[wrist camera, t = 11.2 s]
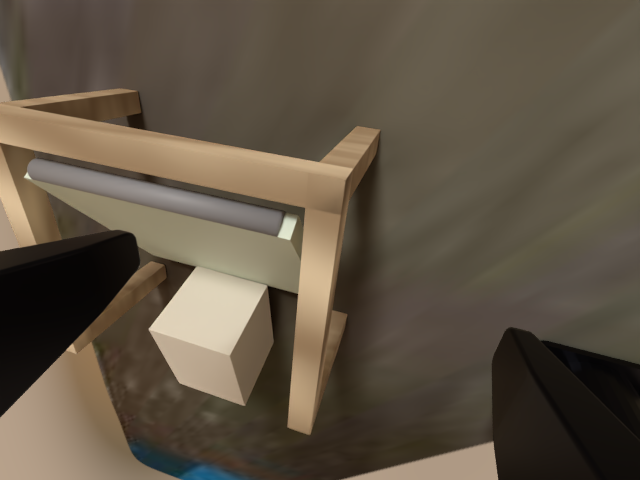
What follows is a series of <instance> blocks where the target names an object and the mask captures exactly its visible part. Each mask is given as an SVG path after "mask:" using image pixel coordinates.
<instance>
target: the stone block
mask: <svg viewBox="0 0 640 480" xmlns="http://www.w3.org/2000/svg"><path fill="white" fill-rule="evenodd" d="M149 331H150V333H151V334H152V336H153V338H154V340H155V341H156V343H157V345H158V347H159V348H160V350H161V352H162V354H163V355H164V357H165V359H166V360H167V362H168V364H169V366H170V367H171V369H172V371H173V373H174V374H175V376H176V378H177V380H178V381H179V383H180V384H183V385H186V386H189V387H192V388H195V389H197V390H200V391H203V392H206V393H209V394H212V395H214V396H217V397H220V398H223V399H226V400H229V401H231V402H234V403H237V404H240V405H243V406H245V405H246V403H247V400H248V398H249V396H250V394H251V392H252V389H253V387H254V385H255V383H256V380H257V378H258V376H259V374H260V372H261V369H262V367H263V365H264V363H265V360H266V358H267V356H268V354H269V352H270V349H271V347H272V345H273V343H274V339H273V330H272V322H271V313H270V304H269V295H268V286H267V285H264V284H261V283H257V282H254V281H250V280H246V279H243V278H239V277H235V276H232V275H228V274H225V273H221V272H217V271H214V270H210V269H207V268H203V267H199V266H197V267H196V268H195V269H194V271H193V272H192V273H191V275H190V276H189V277H188V279H187V280H186V281H185V282H184V284H183V285H182V286H181V288H180V289H179V290H178V292H177V293H176V294H175V296H174V297H173V298H172V299H171V301H170V302H169V303H168V305H167V306H166V307H165V309H164V310H163V311H162V313H161V314H160V315H159V317H158V318H157V319H156V320H155V322H154V323H153V324H152V326H151V327H150V328H149Z"/></svg>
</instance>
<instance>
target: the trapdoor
mask: <svg viewBox="0 0 640 480" xmlns="http://www.w3.org/2000/svg"><path fill="white" fill-rule="evenodd" d="M24 178H25V179H27V180H29V181H30V182H32V183H34V184H35V185H37V186H39V187H40V188H42V189H44V190H45V191H47V192H49V193H50V194H52V195H54V196H55V197H57V198H59V199H60V200H62V201H64V202H65V203H67V204H69V205H70V206H72V207H74V208H75V209H77V210H79V211H80V212H82V213H84V214H85V215H87V216H89V217H90V218H92V219H94V220H95V221H97V222H99V223H100V224H102V225H104V226H105V227H107V228H109V229H110V230H123V231H127V232H131V233H133V234H134V235H135V237H136V240H137V245H138V246H139V247H140V248H142V249H144V250H145V251H147V252H149V253H150V254H152V255H154V256H158V257H161V258H165V259H169V260H173V261H176V262H180V263H184V264H188V265H192V266H195V267H197V266H199V267H203V268H207V269H210V270H214V271H217V272H221V273H225V274H228V275H232V276H235V277H239V278H243V279H246V280H250V281H254V282H257V283H261V284H264V285H267V286H271V287H274V288H278V289H282V290H286V291H289V292H293V293H297V294H298V292H299V280H300V268H301V255H302V243H303V231H304V229H303V226H302V223H301V221H300V218H299V215H295V214H291V213H286V212H285V211H282V210H277V209H273V208H268V207H264V206H259V205H254V204H250V203H245V202H241V201H236V200H231V199H227V198H222V197H218V196H213V195H208V194H204V193H199V192H195V191H190V190H185V189H181V188H176V187H172V186H167V185H163V184H158V183H153V182H149V181H144V180H140V179H135V178H130V177H126V176H121V175H117V174H112V173H107V172H103V171H98V170H94V169H89V168H84V167H80V166H75V165H71V164H66V163H61V162H57V161H52V160H48V159H43V158H35V159H33V160H31V161H30V163H29V164H28V167H27V173H26V175H25V176H24Z"/></svg>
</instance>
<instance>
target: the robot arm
mask: <svg viewBox="0 0 640 480" xmlns="http://www.w3.org/2000/svg"><path fill="white" fill-rule="evenodd" d="M139 266H140V255H139V250H138V245H137V240H136V237H135V235H134V234H133V233H131V232H127V231H123V230H112V231H106V232H101V233H96V234H90V235H85V236H80V237H74V238H69V239H63V240H58V241H53V242H47V243H42V244H37V245H31V246H26V247H21V248H15V249H10V250H5V251H0V417H1V416H2V415H3V414H4V413H5V412H6V411H7V410H8V409H9V408H10V407H11V406H12V405H13V404H14V403H15V402H16V401H17V400H18V399H19V398H20V397H21V396H22V395H23V394H24V393H25V391H27V390H28V389H29V387H31V385H32V384H33V383H34V382H35V381H36V380H37V379H38V378H39V377H40V376H41V375H42V374H43V373H44V372H45V371H46V370H47V369H48V368H49V367H50V366H51V365H52V364H53V363H54V362H55V361H56V360H57V359H58V358H59V357H60V356H61V355H62V354H63V353H64V352H65V351H66V350H67V349H68V348H69V347H70V346H71V345H72V344H73V343H74V341H75V340H76V339H77V338H78V337H79V336H80V335H81V334H82V333H83V332H84V331H85V330H86V329H87V328H88V327H89V326H90V325H91V324H92V323H93V322H94V321H95V320H96V319H97V318H98V317H99V316H100V315H101V313H102V312H103V311H104V310H105V309H106V308H107V306H108V305H109V304H110V303H111V302H112V300H113V299H114V298H115V297H116V295H117V294H118V293H119V292H120V290H121V289H122V288H123V287H124V286H125V284H126V283H127V282H128V281H129V279H130V278H131V277H132V276H133V275H134V273H135V272H136V271H137V270H138V268H139ZM492 414H493V441H494V450H495V458H496V465H497V473H498V480H640V365H639V364H635V363H631V362H628V361H624V360H620V359H616V358H612V357H608V356H604V355H600V354H596V353H592V352H588V351H585V350H581V349H577V348H573V347H569V346H565V345H561V344H557V343H553V342H549V341H540V340H539V339H538V338H537V337H536V336H535V335H534V334H532V333H531V332H529V331H526V330H521V329H517V328H513V327H510V328H508V329H507V330H506V331H505V332H504V334H503V337H502V339H501V341H500V343H499V345H498V347H497V349H496V351H495V354H494V356H493V360H492Z"/></svg>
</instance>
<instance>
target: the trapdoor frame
mask: <svg viewBox="0 0 640 480" xmlns="http://www.w3.org/2000/svg"><path fill="white" fill-rule="evenodd" d="M138 113H141V108H140V102H139V95H138V91H133V90H127V89H121V88H120V89H111V90H103V91H95V92H86V93H78V94H69V95H61V96H52V97H44V98H35V99H27V100H18V101H10V102H1V103H0V198H1V201H2V203H3V206H4V208H5V211H6V213H7V216H8V218H9V221H10V223H11V226H12V228H13V231H14V233H15V236H16V238H17V241H18V244H19V246H20V248H21V247H26V246H31V245H37V244H42V243H47V242H53V241H58V240H62V239H61V235H60V232H59V229H58V226H57V223H56V220H55V217H54V214H53V210H52V207H51V204H50V201H49V198H48V195H47V192H46V191H45V190H44V189H42V188H40V187H39V186H37V185H35V184H34V183H32V182H30V181H29V180H27V179H25V178H24V176H25V175H26V173H27V167H28V164H29V163H30V161H31V160H33V159H35V158H36V157H35V154H34V151H33V150H36V151H41V152H46V153H51V154H55V155H60V156H65V157H69V158H74V159H79V160H83V161H88V162H93V163H98V164H102V165H107V166H112V167H116V168H121V169H126V170H130V171H135V172H140V173H144V174H149V175H154V176H159V177H163V178H168V179H173V180H177V181H182V182H187V183H191V184H196V185H201V186H205V187H210V188H215V189H220V190H224V191H229V192H234V193H238V194H243V195H248V196H252V197H257V198H262V199H267V200H271V201H276V202H281V203H285V204H290V205H295V206H299V207H304V208H305V219H304V231H303V243H302V255H301V268H300V280H299V292H298V304H297V316H296V329H295V341H294V353H293V365H292V377H291V390H290V402H289V414H288V426H287V427H288V428H291V429H294V430H296V431H299V432H302V433H305V434H308V435H310V434H311V431H312V428H313V425H314V421H315V418H316V415H317V412H318V409H319V406H320V403H321V400H322V397H323V394H324V391H325V388H326V385H327V382H328V378H329V375H330V372H331V369H332V366H333V363H334V360H335V357H336V354H337V351H338V348H339V345H340V342H341V338H342V335H343V332H344V329H345V325H346V320H347V314H345V313H341V312H337V311H334V310H332V309H333V303H334V296H335V289H336V283H337V276H338V269H339V262H340V256H341V249H342V242H343V236H344V229H345V222H346V215H347V209H348V202H349V200H350V198H351V197H352V195H353V193H354V191H355V190H356V188H357V186H358V184H359V183H360V181H361V179H362V177H363V176H364V174H365V172H366V170H367V169H368V167H369V165H370V163H371V162H372V160H373V158H374V157H375V155H376V152H377V146H378V141H379V135H380V130H378V129H372V128H366V127H360V126H357V127H356V128H354V129H353V130H352V131H351V132H350V133H349V134H348V135H347V136H346V137H345V138H344V139H343V140H342V141H341V142H340V143H339V144H338V145H337V146H336V147H335V148H334V149H333V150H332V151H330V152H329V153H328V154H327V155H326V156H325V157H324V158H323V159H322V160H321V161H320V162H314V161H309V160H303V159H298V158H293V157H287V156H282V155H276V154H271V153H265V152H260V151H255V150H249V149H244V148H238V147H233V146H227V145H222V144H217V143H211V142H206V141H200V140H195V139H189V138H184V137H179V136H173V135H168V134H162V133H157V132H152V131H146V130H141V129H135V128H130V127H124V126H119V125H114V124H108V123H103V122H100V121H105V120H109V119H114V118H119V117H124V116H129V115H133V114H138ZM166 278H167V276H166V269H165V265H163V264H159V263H156V262H152V261H151V262H150V263H148V264H147V265H145V266H144V267H143V268H141V269H140V270H139V271H137V272H136V273H135V274H134V275H133V276H132V277H131V278H130V279H129V281H128V282H127V283H126V284H125V286H124V287H123V288H122V289H121V290H120V292H119V293H118V294H117V295H116V297H115V298H114V299H113V300H112V302H111V303H110V304H109V305H108V306H107V308H106V309H105V310H104V311H103V312H102V313H101V315H100V316H99V317H98V318H97V319H96V320H95V321H94V322H93V323H92V324H91V325H90V326H89V327H88V328H87V329H86V330H85V331H84V332H83V333H82V334H81V335H80V336H79V337H78V338H77V339H76V340H75V341H74V343H73V344H72V345H71V346H70V347H69V348H68V349H67V351H70V352H72V353H75V354H77V353H78V352H80V351H81V350H82V349H83V348H84V347H85V346H87V345H88V344H89V343H90V342H91V341H93V340H94V339H95V338H96V337H97V336H98V335H100V334H101V333H102V332H103V331H104V330H106V329H107V328H108V327H109V326H110V325H112V324H113V323H114V322H115V321H116V320H117V319H119V318H120V317H121V316H122V315H123V314H125V313H126V312H127V311H128V310H129V309H130V308H132V307H133V306H134V305H135V304H136V303H138V302H139V301H140V300H141V299H142V298H143V297H145V296H146V295H147V294H148V293H149V292H151V291H152V290H153V289H154V288H155V287H156V286H158V285H159V284H160V283H161V282H162V281H164V280H165V279H166Z"/></svg>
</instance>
